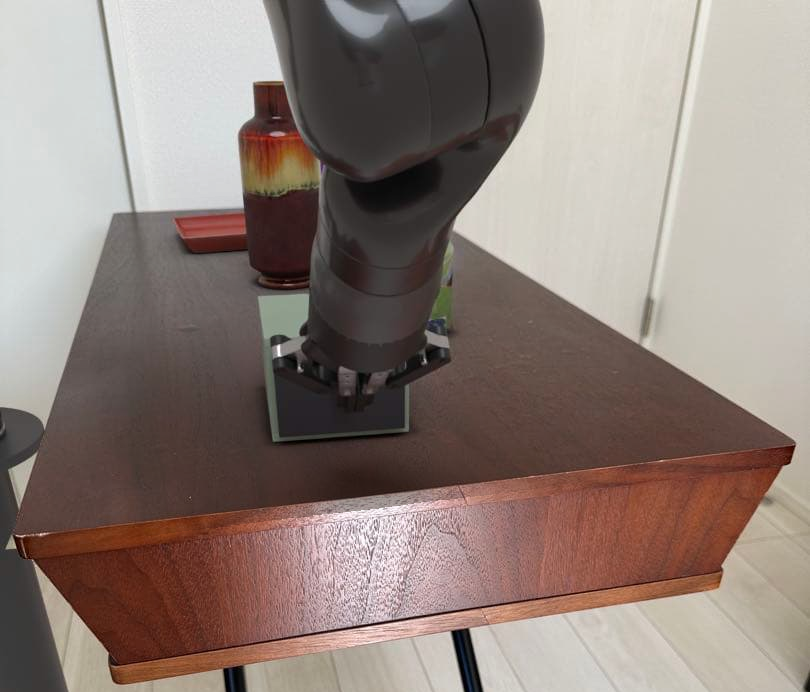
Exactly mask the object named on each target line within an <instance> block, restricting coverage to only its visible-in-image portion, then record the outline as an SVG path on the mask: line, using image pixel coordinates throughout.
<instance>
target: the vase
mask: <svg viewBox="0 0 810 692" xmlns="http://www.w3.org/2000/svg"><path fill="white" fill-rule="evenodd" d="M252 92H253V93H252V95H253V109H254V110H253V111H254V113H253V116H252V117H251V118H249V119H248V120H246V121H245V122H244V123H243V124H242V125H241V126H240V128H239V130H238V133H237V146H238V158H239V169H240V170H239V171H240V182H241V190H242V202H243V213H244V214H245V225H246V235H247V245H248V249H247V254H248V263H249V266H250V267H251V268H252V269H253V270H255V271H257V272H258V273H261V274H260V275H259V276H258V277H257V284H258V285H259V286H260V287H263V288H266V289H272V290H299V289H304V288H309V285H310V266H311V252H312V247H313V242H314V238H315V235H316V232H317V225H318V208H319V186H320V179H321V168H320V160H319V159H318V158H317V157H316V156H314V155H313V153H312V152H311V151H310V150H309V148H308V147H307V145H306V144H305V142H304V141H303V139H302V137H301V135H300V133H299V131H298V129H297V126H296V124H295V121H294V118H293V115H292V112H291V108H290V105H289V102H288V98H287V94H286V90H285V85H284V81H283V80H258V81H252Z"/></svg>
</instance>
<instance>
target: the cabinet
mask: <svg viewBox="0 0 810 692" xmlns="http://www.w3.org/2000/svg"><path fill="white" fill-rule="evenodd" d="M257 303H258V316H259V324H260V327H259V328H260V335H261V336H260V338H261V348H262V361H263V372H264V382H265V391H266V399H267V407H268V415H269V423H270V431H271V439H272V442H273V443H277V442H288V441H289V442H290V441H291V442H292V441H300V440H301V441H302V440H303V441H304V440H317V439H329V438H345V437H356V436H357V437H358V436H369V435H384V434H396V433H397V434H398V433H408V432H410V383H409V384H407V385H406V386H405V428H400V429H387V430H374V431H360V432H347V433H334V434H320V435H307V436H294V437H279V429H278V417H277V405H276V393H275V381H274V373H273V366H272V359H271V346H270V338H271V337H272V336H274V335H279V334H280V335H285V336H287V337H289V338H291V339H294V338H296V337H299V336H300V335H299V331H300V328H301V326H302V325H303V324H304V323H305V322H306V321H307V320H308V307H309V293H297V294H295V293H293V294H277V295H276V294H275V295H258V296H257ZM405 369H406V362H405Z"/></svg>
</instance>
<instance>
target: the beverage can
mask: <svg viewBox="0 0 810 692" xmlns="http://www.w3.org/2000/svg"><path fill="white" fill-rule="evenodd" d="M454 251H455V250H454V246H453V243H452V242H451V240H450V241H449V244H448V247H447V250H446V253H445V256H444V265H443V275H442V279H441V287H440V292H439V296H438V297H437V299H436V300H435V302H434V306H433V309H432V312H431V315H430V318H429V321H428V324H427V327H426V330H429V329H431V328H433V327H435V326H445V327H446V329H447V330H448V329H449V328H450V326H451V321H452V320H451V319H452V298H453V297H452V295H453V274H454V273H453V272H454V255H455V254H454Z"/></svg>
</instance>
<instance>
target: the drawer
mask: <svg viewBox="0 0 810 692" xmlns="http://www.w3.org/2000/svg"><path fill="white" fill-rule="evenodd" d="M400 369H401V372H402V371H404V370H405V362H404V363H403V364H401V365H400ZM274 381H275V393H276V405H277V417H278V429H279V437H294V436H307V435H320V434H334V433H347V432H360V431H374V430H387V429H400V428H405V386H404V387H402V388H400V389H396V390H389V389H387V387H386V385H385V386H381V387H379V389H378V392H377V393H375V395H374V399H373V403H372V404H371V405H369V406H365V407H364V411H363V412H351V413H345V410H344V407H340V408H338V406H337V405H336V398H335V390H334V389H331V392H330V393H328V394H324V395H319V394H316V393H314V392H312V391H310V390H308V389H305V388H303V387H301V386H299V385H297V384H295V383H293V382H291V381H289V380H287V379H285V378H282V377H280V376H278V375H276V374H274Z"/></svg>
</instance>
